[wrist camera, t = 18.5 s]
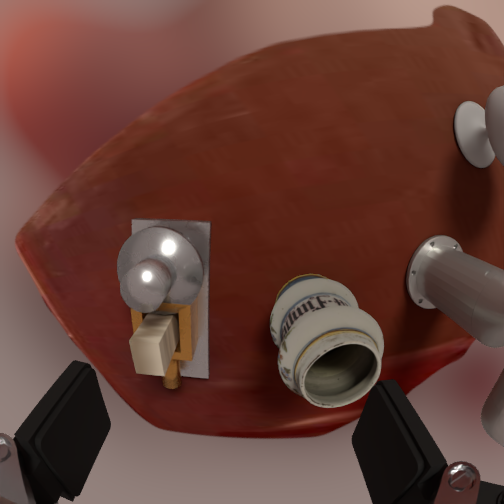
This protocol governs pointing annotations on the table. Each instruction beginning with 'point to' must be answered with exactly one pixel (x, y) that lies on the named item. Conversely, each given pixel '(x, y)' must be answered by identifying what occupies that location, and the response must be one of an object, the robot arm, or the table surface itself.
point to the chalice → (481, 130)
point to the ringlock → (171, 286)
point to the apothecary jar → (325, 341)
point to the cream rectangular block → (155, 343)
